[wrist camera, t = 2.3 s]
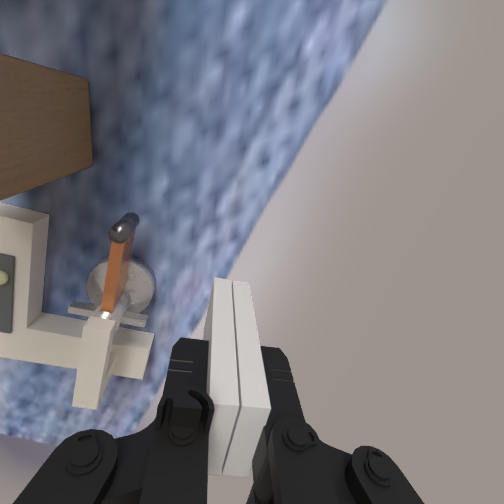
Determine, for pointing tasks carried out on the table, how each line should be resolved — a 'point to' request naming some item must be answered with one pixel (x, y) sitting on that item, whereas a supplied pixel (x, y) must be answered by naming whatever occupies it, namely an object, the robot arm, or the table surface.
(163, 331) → the table surface
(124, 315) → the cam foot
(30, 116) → the wooden block
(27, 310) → the stand
